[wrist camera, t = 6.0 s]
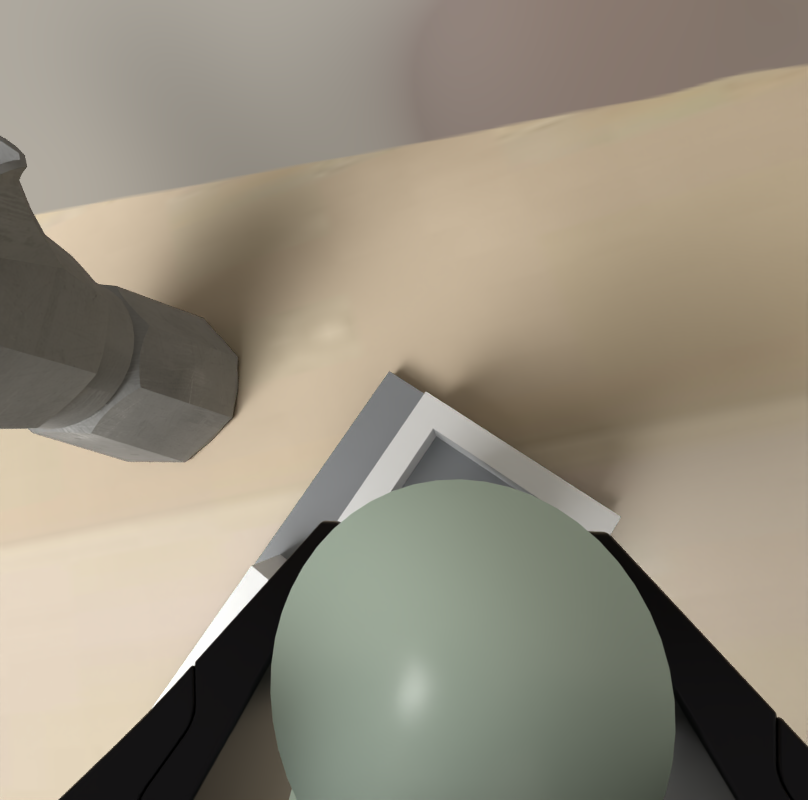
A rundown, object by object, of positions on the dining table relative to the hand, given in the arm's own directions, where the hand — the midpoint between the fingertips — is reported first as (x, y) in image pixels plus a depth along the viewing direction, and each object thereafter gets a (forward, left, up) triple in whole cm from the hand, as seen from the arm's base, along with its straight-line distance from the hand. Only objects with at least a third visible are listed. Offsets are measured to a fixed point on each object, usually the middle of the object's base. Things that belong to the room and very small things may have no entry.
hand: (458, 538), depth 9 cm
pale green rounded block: (-1, -1, -7) cm, 7 cm away
